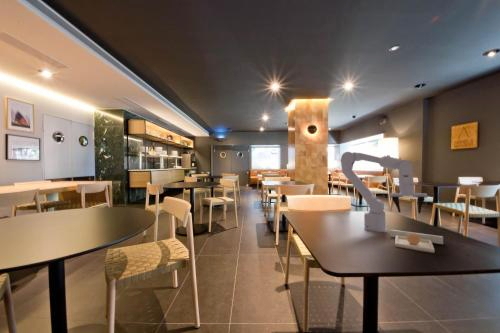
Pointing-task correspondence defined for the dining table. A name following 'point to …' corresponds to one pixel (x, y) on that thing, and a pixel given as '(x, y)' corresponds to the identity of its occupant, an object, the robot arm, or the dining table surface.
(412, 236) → the ball
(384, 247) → the dining table surface
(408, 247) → the tray
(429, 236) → the low wall
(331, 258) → the dining table surface
